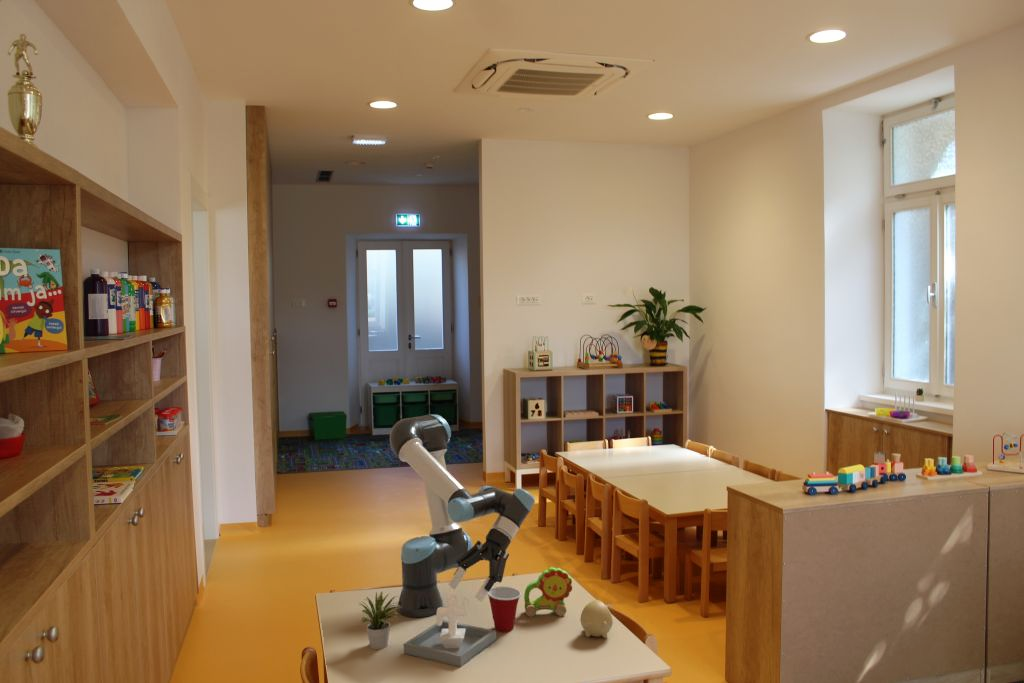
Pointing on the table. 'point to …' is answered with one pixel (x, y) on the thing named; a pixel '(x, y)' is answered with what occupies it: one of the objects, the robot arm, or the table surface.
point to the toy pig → (596, 619)
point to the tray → (434, 650)
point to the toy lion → (549, 592)
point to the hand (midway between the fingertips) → (464, 593)
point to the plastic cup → (504, 607)
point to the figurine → (452, 622)
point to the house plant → (378, 622)
